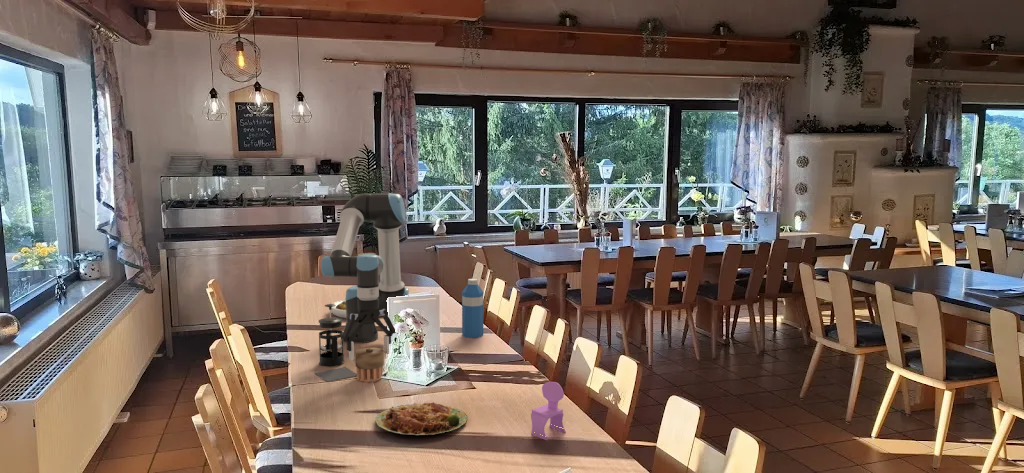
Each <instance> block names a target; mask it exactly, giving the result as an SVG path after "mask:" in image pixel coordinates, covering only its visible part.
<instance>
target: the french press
mask: <svg viewBox="0 0 1024 473" xmlns="http://www.w3.org/2000/svg"><path fill="white" fill-rule="evenodd" d="M334 306H336V305H335V304H332V303H328V304H327V303H326V304H325V305H324V307H326V308H328V309H329V317H325V318H321V319H318V323H319V327H320V328H322V329H326V330H322V331H319V332H318V350H319V354H318V355H319V362H318V364H319V365H320V366H322V367H324V368H325V367H327V368H328V367H330V368H331V367H332V368H333V367H339V366H342V365H343V364H344V363H345V360H344V341H343V340H341V344H340V343H338V339H341V337H342V334H343V331H344V330H343V331H342V330H340V329H335V328H340V327H342V324H343V319H344V318H340V317H332V311H331V310H332V307H334ZM333 334H334V335H333ZM321 339H323V340H325V341H326V343H325V344H323V345H321V342H322V341H321Z"/></svg>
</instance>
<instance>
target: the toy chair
mask: <svg viewBox="0 0 1024 473" xmlns="http://www.w3.org/2000/svg"><path fill="white" fill-rule="evenodd" d="M541 392H542V396H543V398H544V399H546V400H547V402H548V403H547V404H544V405H542V406H538V407H536V408H533V409H531V413H530V418H531V419H530V420H531V433H530V435H532V436H535V437H536V438H540V439H542V440H545V441H548V436H547V435H546V432H545V427H546V424H547V422H548V421H549V419H550V422H549V428H551V429H553V430H557V431H559V432H562V433H564V434H566V430H565V429H566V428H565V426H564V424H563V423H564V422H563V419H564V411H563V409H561V408H559V407H558V405H559V402H560V401H561V400H562V399H563V398H564V396H565V393H564V390H563V388H562V386H561V385H560V384H559V382H556V381H547V382H545V383H543V384H542V386H541ZM551 424H552V425H551ZM554 425H555V426H554ZM556 426H558V427H556ZM559 427H562V428H564V429H562V428H559ZM534 432H535V433H534ZM540 434H541V435H540ZM542 435H543V436H542ZM545 436H546V437H545Z"/></svg>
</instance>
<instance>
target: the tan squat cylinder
mask: <svg viewBox="0 0 1024 473" xmlns="http://www.w3.org/2000/svg"><path fill="white" fill-rule="evenodd" d="M354 360H355V367H356V369H357V368H360V369H376V368H380V367H384V365H385V353H384V348H383V349H382V348H379V347H364V348H360V349H359V348H358V349H357V350H355V351H354Z"/></svg>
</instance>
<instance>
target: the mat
mask: <svg viewBox="0 0 1024 473" xmlns="http://www.w3.org/2000/svg"><path fill="white" fill-rule="evenodd" d="M314 374H315V375H316V376H318V377H319V378H321V379H322V380H324V382H326V383H330V382H335V381H340V380H346V379H350V378H357V372H355V371H353V370H351V369H349V368H348V367H346V366H343V367H337V368H332V369H327V370H322V371H321V370H320V371H316V372H314Z"/></svg>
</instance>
